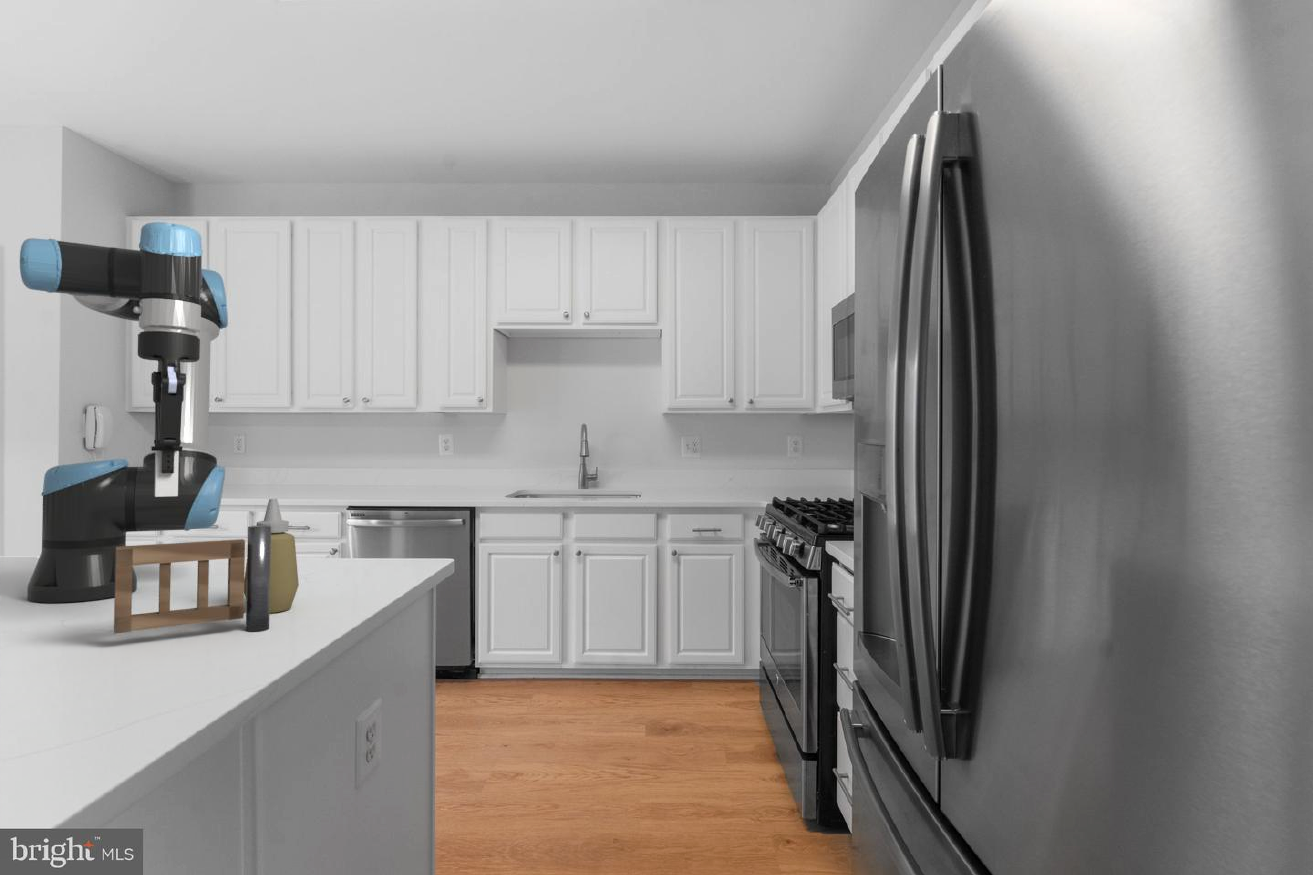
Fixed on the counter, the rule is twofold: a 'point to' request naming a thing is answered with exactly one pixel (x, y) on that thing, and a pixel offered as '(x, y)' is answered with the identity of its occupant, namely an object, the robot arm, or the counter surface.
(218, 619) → the gate
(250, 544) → the gate post
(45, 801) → the counter surface
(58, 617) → the counter surface
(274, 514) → the squeeze bottle
